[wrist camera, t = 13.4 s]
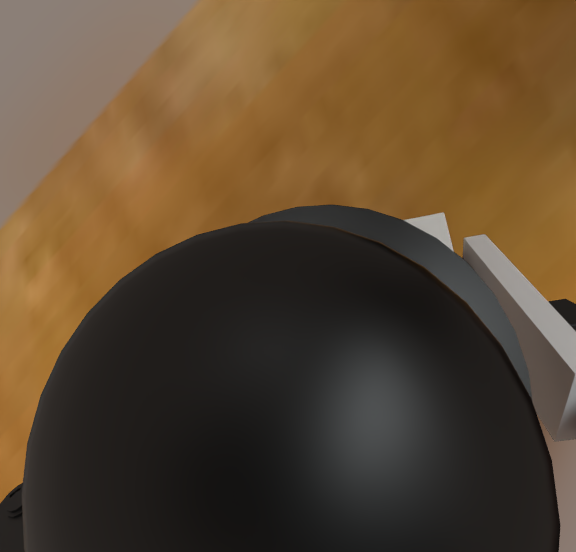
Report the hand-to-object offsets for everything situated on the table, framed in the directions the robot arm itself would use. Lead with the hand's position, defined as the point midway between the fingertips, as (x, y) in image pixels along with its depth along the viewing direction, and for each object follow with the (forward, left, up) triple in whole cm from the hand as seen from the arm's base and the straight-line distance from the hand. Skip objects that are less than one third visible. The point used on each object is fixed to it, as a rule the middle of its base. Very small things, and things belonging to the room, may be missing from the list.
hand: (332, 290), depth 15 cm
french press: (0, +3, -11) cm, 11 cm away
